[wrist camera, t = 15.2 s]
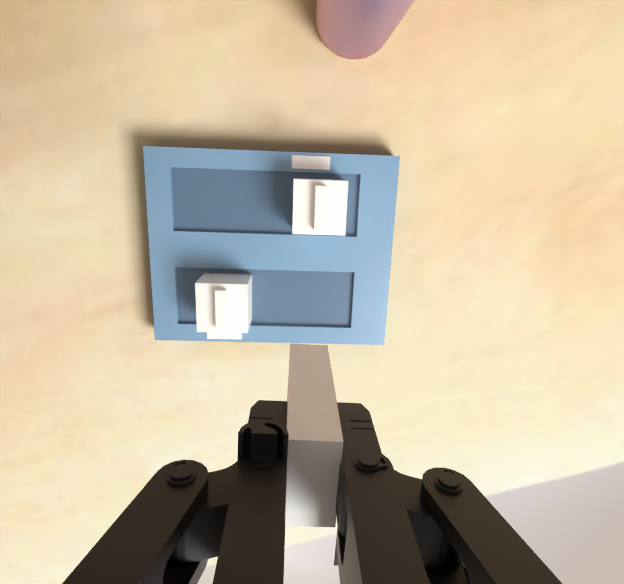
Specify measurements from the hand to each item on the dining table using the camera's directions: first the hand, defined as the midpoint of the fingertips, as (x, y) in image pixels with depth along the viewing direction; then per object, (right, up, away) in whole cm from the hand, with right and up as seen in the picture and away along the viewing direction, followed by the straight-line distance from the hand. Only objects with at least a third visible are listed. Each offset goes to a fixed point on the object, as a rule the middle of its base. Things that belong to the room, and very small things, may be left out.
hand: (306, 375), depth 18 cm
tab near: (+1, +11, +18) cm, 21 cm away
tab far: (-7, +3, +20) cm, 21 cm away
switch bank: (-3, +7, +20) cm, 22 cm away
